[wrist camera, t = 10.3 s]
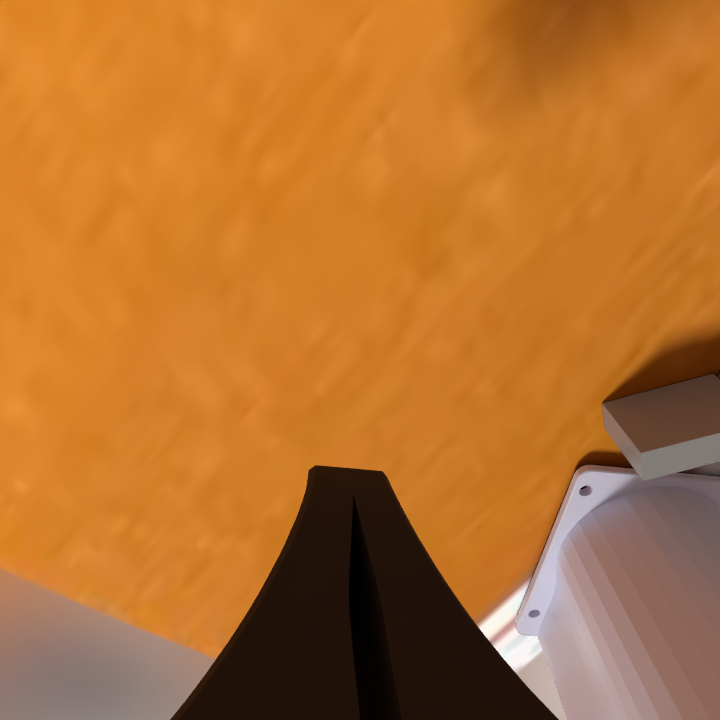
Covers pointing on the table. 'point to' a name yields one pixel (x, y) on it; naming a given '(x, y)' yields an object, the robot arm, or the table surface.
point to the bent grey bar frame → (668, 427)
